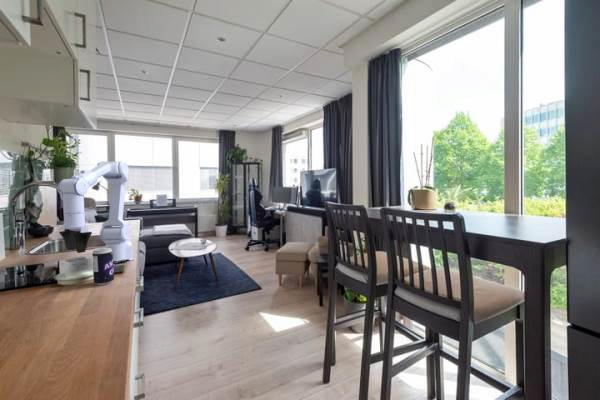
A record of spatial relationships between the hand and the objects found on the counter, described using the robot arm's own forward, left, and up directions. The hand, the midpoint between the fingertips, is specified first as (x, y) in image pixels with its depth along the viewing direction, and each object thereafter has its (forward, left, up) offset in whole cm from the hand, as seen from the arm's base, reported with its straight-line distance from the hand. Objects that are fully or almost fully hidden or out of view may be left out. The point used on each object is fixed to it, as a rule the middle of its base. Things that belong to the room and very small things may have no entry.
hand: (76, 251), depth 98 cm
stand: (0, 0, -10) cm, 10 cm away
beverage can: (-3, +12, -11) cm, 16 cm away
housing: (0, 0, -8) cm, 8 cm away
